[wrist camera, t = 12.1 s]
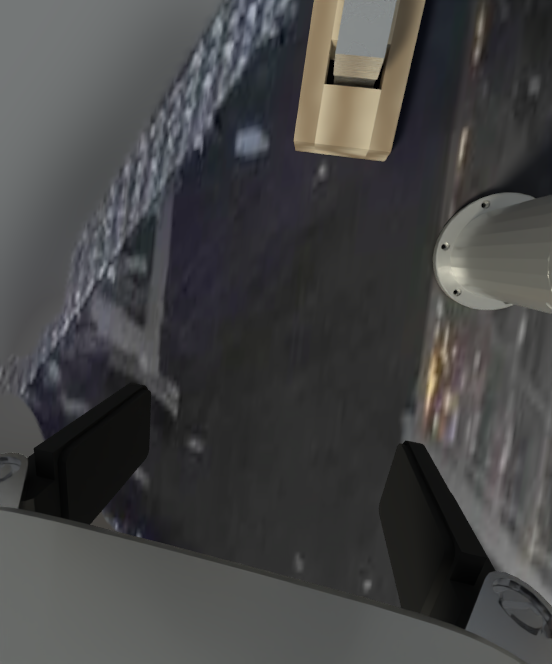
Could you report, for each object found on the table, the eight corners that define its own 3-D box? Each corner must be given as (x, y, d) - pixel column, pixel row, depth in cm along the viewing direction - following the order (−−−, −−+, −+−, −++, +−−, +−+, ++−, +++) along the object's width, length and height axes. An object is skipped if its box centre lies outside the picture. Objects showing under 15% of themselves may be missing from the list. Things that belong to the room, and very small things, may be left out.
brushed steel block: (398, -39, 28) (428, -150, 20) (368, 106, 31) (384, 58, 24) (356, -42, 28) (370, -152, 21) (331, 102, 32) (335, 53, 24)
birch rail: (445, -109, 26) (460, -154, 23) (384, 161, 32) (390, 152, 29) (334, -113, 27) (336, -157, 24) (295, 150, 33) (293, 140, 30)
